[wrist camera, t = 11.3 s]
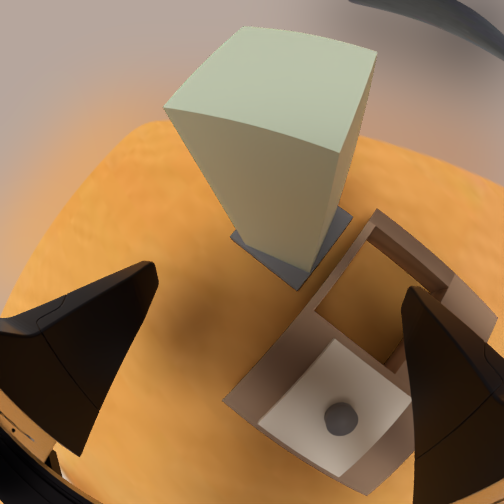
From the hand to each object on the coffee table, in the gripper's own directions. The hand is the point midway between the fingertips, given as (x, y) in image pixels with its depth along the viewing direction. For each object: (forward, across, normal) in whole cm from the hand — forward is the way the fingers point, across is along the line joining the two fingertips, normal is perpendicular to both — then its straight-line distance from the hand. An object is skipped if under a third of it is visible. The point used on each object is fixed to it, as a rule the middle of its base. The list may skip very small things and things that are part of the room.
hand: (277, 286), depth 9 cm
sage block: (+9, 0, +2) cm, 9 cm away
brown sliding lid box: (+4, -6, +8) cm, 11 cm away
